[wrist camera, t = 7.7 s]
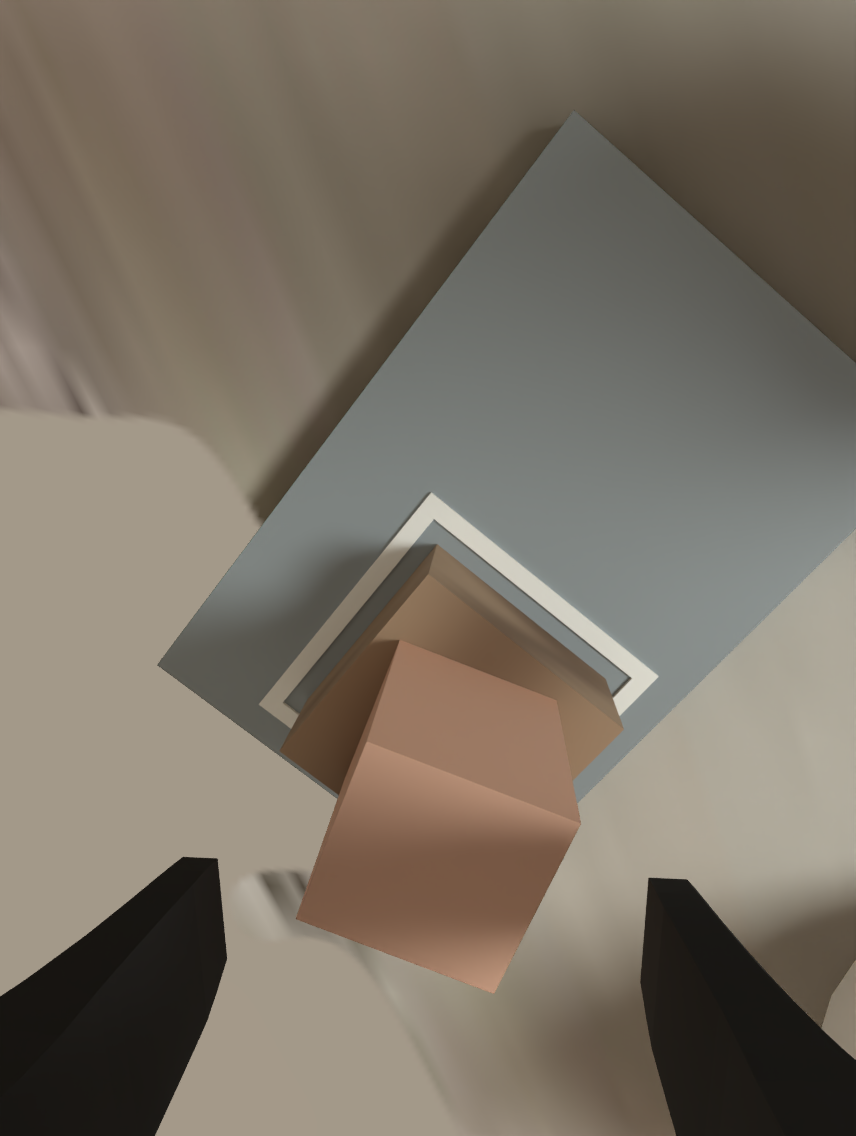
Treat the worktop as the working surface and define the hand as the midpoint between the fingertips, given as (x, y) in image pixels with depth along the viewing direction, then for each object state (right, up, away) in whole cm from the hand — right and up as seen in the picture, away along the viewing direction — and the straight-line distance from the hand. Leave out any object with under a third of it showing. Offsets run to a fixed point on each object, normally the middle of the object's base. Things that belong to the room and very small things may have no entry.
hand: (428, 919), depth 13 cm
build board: (+2, +6, +9) cm, 11 cm away
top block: (0, +2, +6) cm, 6 cm away
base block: (+1, +2, +9) cm, 9 cm away
